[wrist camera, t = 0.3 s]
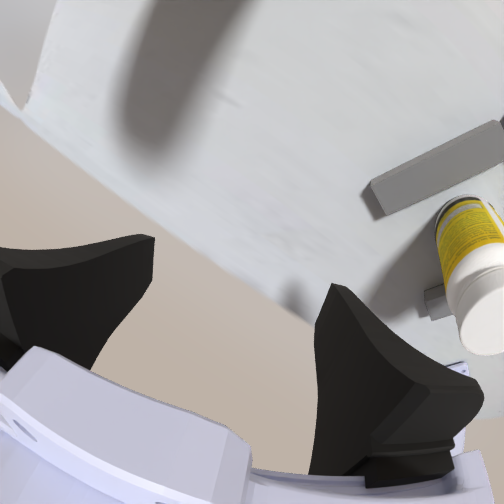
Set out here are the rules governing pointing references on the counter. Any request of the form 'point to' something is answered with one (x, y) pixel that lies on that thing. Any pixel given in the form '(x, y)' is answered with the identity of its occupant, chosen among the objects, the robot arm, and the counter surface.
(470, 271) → the supplement bottle
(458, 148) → the grey and blue rails
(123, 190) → the counter surface
